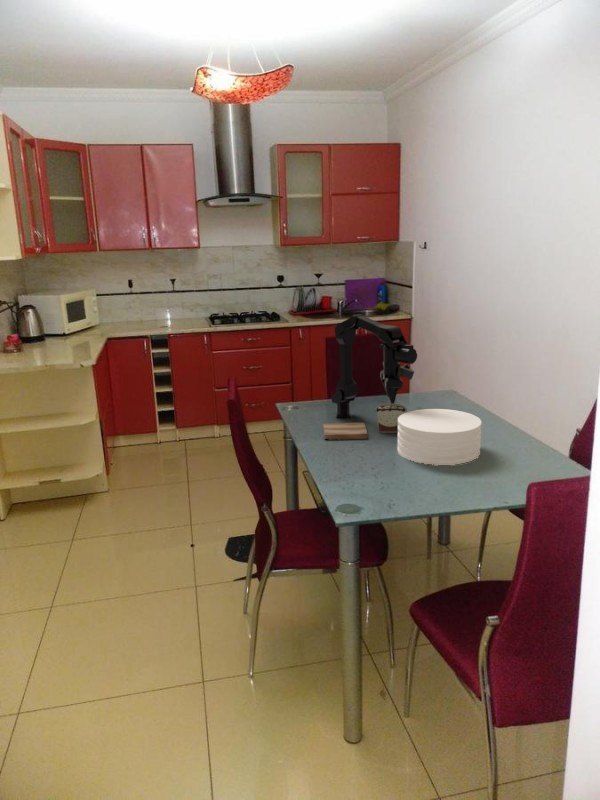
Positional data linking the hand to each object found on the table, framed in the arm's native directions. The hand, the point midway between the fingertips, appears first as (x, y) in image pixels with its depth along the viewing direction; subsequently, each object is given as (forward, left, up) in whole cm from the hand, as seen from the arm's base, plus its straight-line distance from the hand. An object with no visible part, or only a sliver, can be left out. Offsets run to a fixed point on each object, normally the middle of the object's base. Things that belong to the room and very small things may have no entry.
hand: (390, 400), depth 228 cm
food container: (0, 0, -12) cm, 12 cm away
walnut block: (+3, -18, -12) cm, 22 cm away
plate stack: (+25, +13, -12) cm, 31 cm away
